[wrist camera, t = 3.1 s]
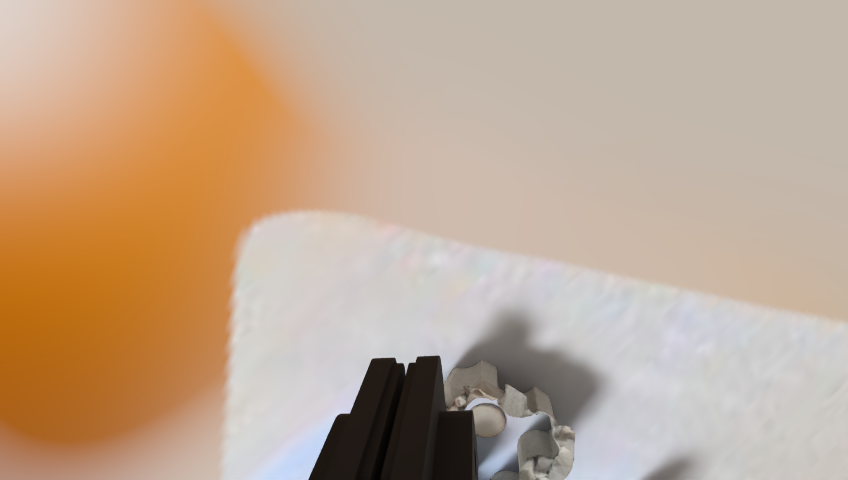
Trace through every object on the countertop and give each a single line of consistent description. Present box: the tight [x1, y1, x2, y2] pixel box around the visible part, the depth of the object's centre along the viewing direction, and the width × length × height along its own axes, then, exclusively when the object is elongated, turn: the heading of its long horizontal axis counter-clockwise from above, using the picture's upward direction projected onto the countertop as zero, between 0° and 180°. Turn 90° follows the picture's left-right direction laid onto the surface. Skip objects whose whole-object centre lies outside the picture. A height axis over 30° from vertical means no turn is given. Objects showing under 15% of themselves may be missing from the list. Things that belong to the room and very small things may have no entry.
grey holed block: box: [444, 360, 575, 480], centre depth 25 cm, size 11×8×4 cm
